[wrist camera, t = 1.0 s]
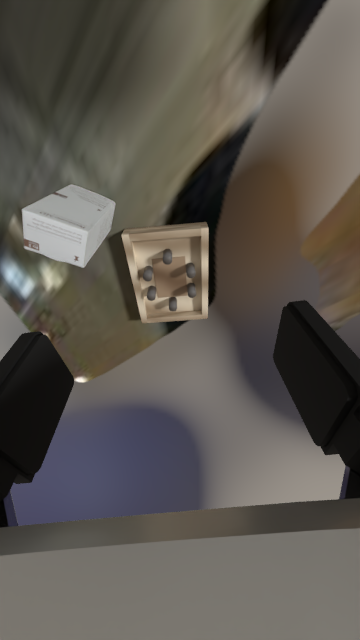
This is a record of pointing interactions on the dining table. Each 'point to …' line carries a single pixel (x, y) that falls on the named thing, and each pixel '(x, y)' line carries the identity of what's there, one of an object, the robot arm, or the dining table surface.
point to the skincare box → (68, 224)
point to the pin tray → (169, 271)
